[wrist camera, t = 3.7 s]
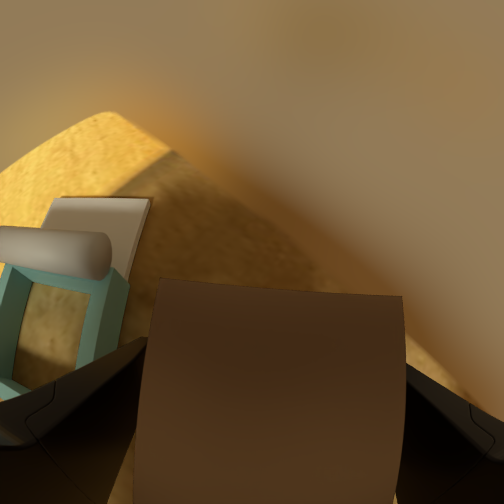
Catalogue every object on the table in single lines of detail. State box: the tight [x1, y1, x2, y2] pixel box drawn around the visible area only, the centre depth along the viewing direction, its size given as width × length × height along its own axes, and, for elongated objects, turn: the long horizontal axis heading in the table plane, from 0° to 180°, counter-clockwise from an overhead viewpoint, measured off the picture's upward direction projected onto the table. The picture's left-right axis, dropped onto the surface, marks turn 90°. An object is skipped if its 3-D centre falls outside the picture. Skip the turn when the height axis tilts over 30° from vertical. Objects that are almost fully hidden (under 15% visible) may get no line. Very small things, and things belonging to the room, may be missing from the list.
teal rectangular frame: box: [0, 198, 151, 400], centre depth 13 cm, size 16×10×5 cm, turn 175°
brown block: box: [133, 278, 406, 504], centre depth 9 cm, size 5×5×10 cm
